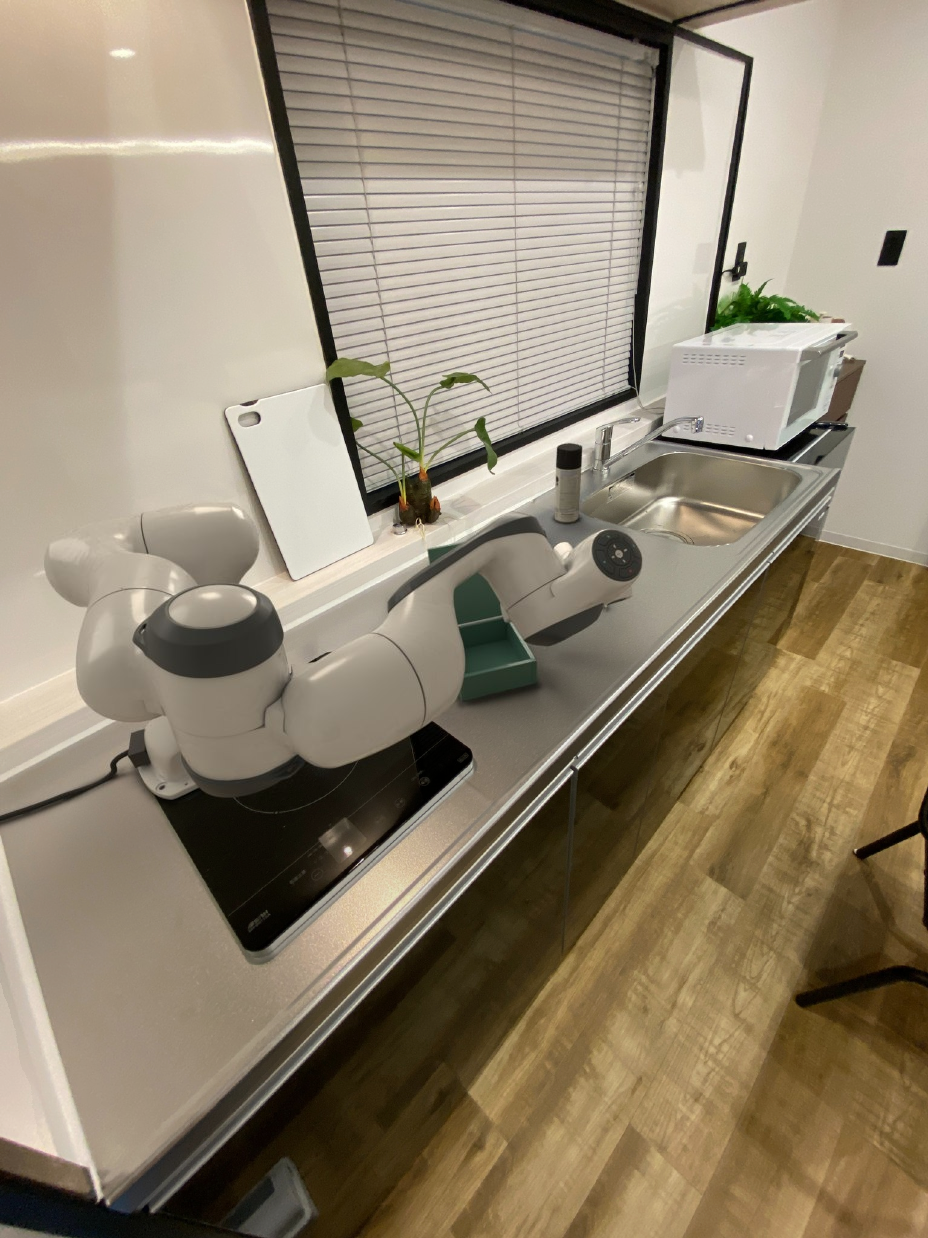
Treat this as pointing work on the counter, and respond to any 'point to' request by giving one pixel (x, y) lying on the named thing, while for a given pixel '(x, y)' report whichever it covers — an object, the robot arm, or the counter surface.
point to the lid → (470, 593)
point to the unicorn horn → (563, 551)
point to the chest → (495, 658)
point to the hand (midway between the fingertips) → (550, 608)
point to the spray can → (568, 482)
